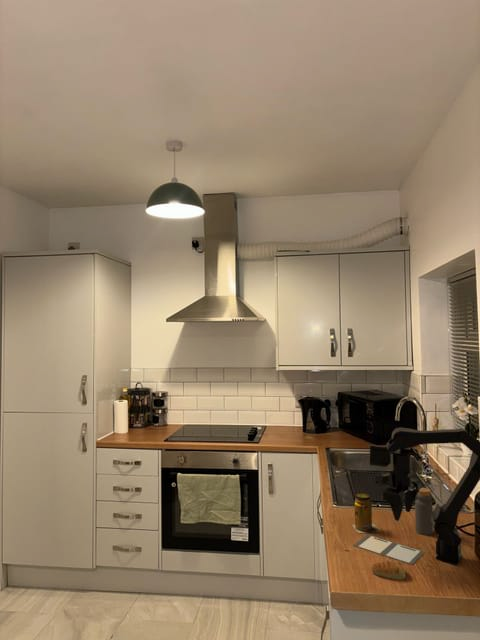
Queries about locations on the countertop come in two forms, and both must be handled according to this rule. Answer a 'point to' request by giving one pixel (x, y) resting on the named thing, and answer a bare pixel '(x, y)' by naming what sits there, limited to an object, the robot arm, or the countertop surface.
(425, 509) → the bottle
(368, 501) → the condiment
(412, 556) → the mat
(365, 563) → the countertop surface
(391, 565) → the pastry
